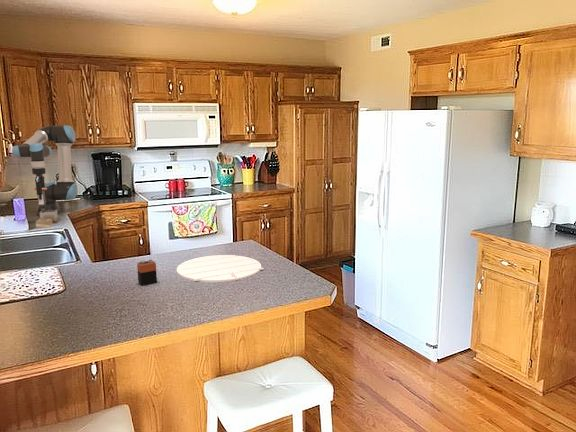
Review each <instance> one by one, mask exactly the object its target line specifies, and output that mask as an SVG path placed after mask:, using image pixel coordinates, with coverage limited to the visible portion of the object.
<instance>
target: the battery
mask: <svg viewBox="0 0 576 432" xmlns="http://www.w3.org/2000/svg"><path fill="white" fill-rule="evenodd" d="M136 266H137V280H138V281H137V282H138V284H139V285H140V286H142V287H143V286H146V285H152V284H156V283H158V279H157V278H158V276H157V275H158V273H157V263H156V261H154V260H153V259H148V260H147V261H146V260H139V262H137V265H136Z"/></svg>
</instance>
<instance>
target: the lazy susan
mask: <svg viewBox="0 0 576 432" xmlns="http://www.w3.org/2000/svg"><path fill="white" fill-rule="evenodd" d="M263 270H265V269H264V267H263V266H262V264H261V263H260V261H259V260H257V259H255V258H251V257H248V256H243V255H235V254H234V255H233V254H221V255H220V254H216V255H215V254H214V255H207V256H200V257H196V258H191V259H189V260H186V261H183V262H182V263H180V264H179V265H178V266H176V274H178V276H179V277H181V278H183V279H186V280H190V281H194V282H201V283H224V282H226V281H227V282H234V280H235V281H240V280H243V278H244V279H247V277H248V278H250V276H251V277H253V276H255V275H256V273H257V274H258V273H260V271H263ZM239 279H240V280H239ZM227 282H226V283H227Z"/></svg>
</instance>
